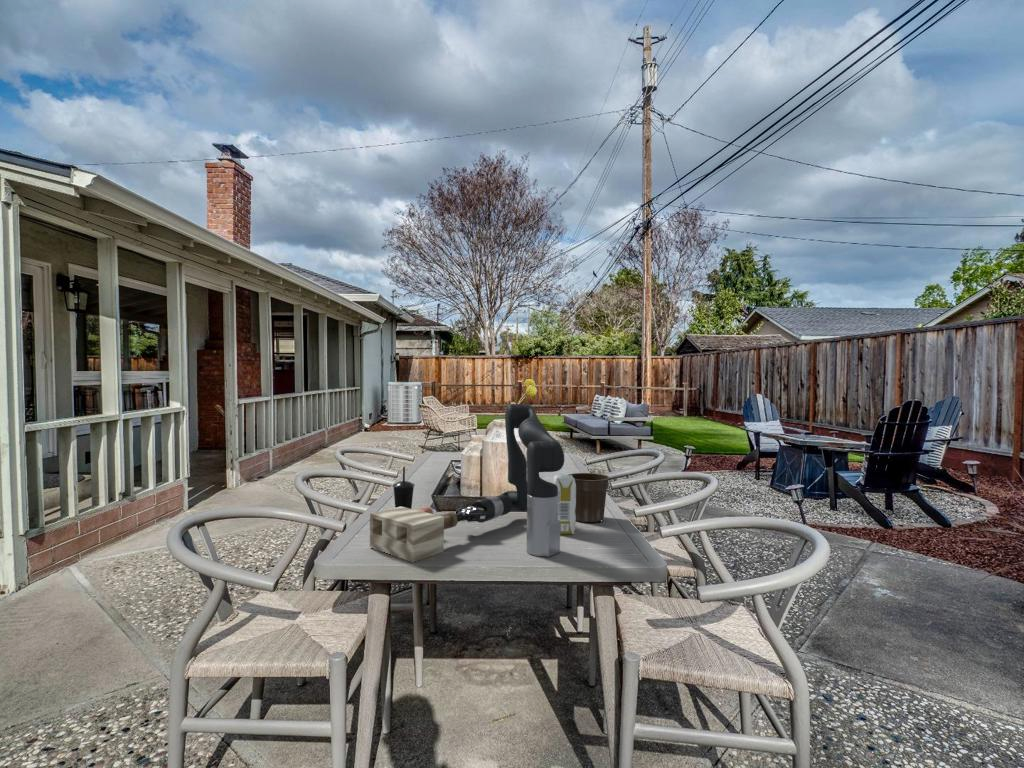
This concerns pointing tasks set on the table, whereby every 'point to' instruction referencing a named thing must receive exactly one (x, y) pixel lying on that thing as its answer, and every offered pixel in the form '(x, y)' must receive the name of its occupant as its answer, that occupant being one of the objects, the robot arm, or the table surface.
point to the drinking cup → (403, 493)
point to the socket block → (407, 533)
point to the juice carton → (566, 503)
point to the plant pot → (590, 496)
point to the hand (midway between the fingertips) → (452, 519)
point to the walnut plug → (450, 520)
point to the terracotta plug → (426, 510)
